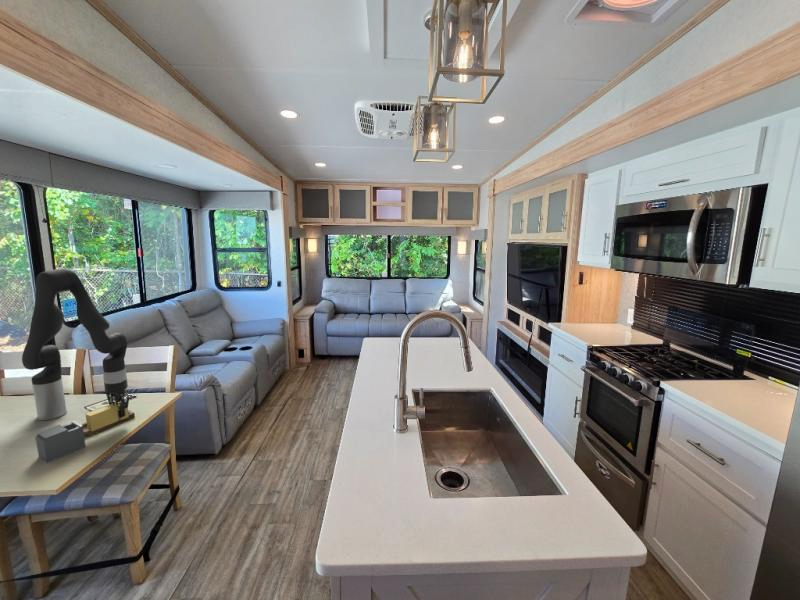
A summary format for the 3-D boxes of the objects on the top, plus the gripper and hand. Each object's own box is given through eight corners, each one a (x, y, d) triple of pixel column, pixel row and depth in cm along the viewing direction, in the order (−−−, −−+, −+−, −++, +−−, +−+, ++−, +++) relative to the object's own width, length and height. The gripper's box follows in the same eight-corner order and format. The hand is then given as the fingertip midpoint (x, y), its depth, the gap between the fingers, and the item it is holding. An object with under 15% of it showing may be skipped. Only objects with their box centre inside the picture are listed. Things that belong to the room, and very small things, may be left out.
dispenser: (38, 457, 124) (34, 433, 123) (77, 441, 134) (74, 419, 133) (47, 463, 122) (43, 439, 120) (85, 446, 132) (82, 424, 130)
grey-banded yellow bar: (87, 428, 136) (85, 413, 135) (124, 414, 148) (122, 400, 146) (91, 431, 134) (89, 415, 133) (128, 416, 146) (127, 402, 145)
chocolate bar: (137, 395, 172) (94, 411, 156) (137, 397, 172) (94, 413, 156) (127, 392, 175) (84, 406, 159) (127, 393, 176) (84, 408, 159)
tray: (75, 431, 141) (74, 426, 140) (124, 412, 157) (124, 408, 157) (85, 437, 137) (84, 432, 137) (134, 417, 153) (134, 412, 153)
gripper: (96, 378, 141) (100, 415, 144) (114, 386, 135) (118, 424, 138) (116, 372, 147) (120, 407, 151) (134, 380, 142) (138, 416, 145)
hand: (119, 415), depth 144 cm, fingers closed on grey-banded yellow bar, 3 cm apart
